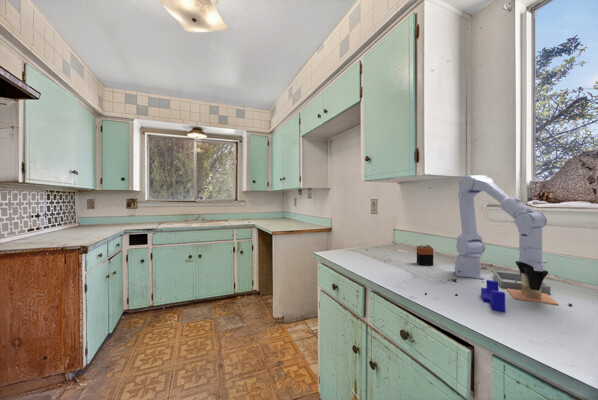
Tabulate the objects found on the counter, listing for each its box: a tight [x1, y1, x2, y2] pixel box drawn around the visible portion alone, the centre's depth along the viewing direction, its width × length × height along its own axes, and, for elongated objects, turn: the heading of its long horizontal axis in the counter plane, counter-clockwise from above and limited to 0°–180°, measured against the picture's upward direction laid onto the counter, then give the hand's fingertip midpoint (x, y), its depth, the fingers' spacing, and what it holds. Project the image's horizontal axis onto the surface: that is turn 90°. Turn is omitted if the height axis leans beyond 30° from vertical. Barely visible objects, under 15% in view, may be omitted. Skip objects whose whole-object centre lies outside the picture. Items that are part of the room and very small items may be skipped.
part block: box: [520, 273, 541, 299], centre depth 83 cm, size 4×4×7 cm
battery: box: [416, 244, 434, 267], centre depth 123 cm, size 4×7×10 cm, turn 83°
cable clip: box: [480, 279, 506, 313], centre depth 79 cm, size 12×4×6 cm, turn 149°
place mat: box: [505, 288, 560, 306], centre depth 83 cm, size 11×9×1 cm
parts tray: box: [492, 270, 551, 295], centre depth 94 cm, size 14×14×2 cm
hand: (530, 285), depth 83 cm, fingers open, 7 cm apart
